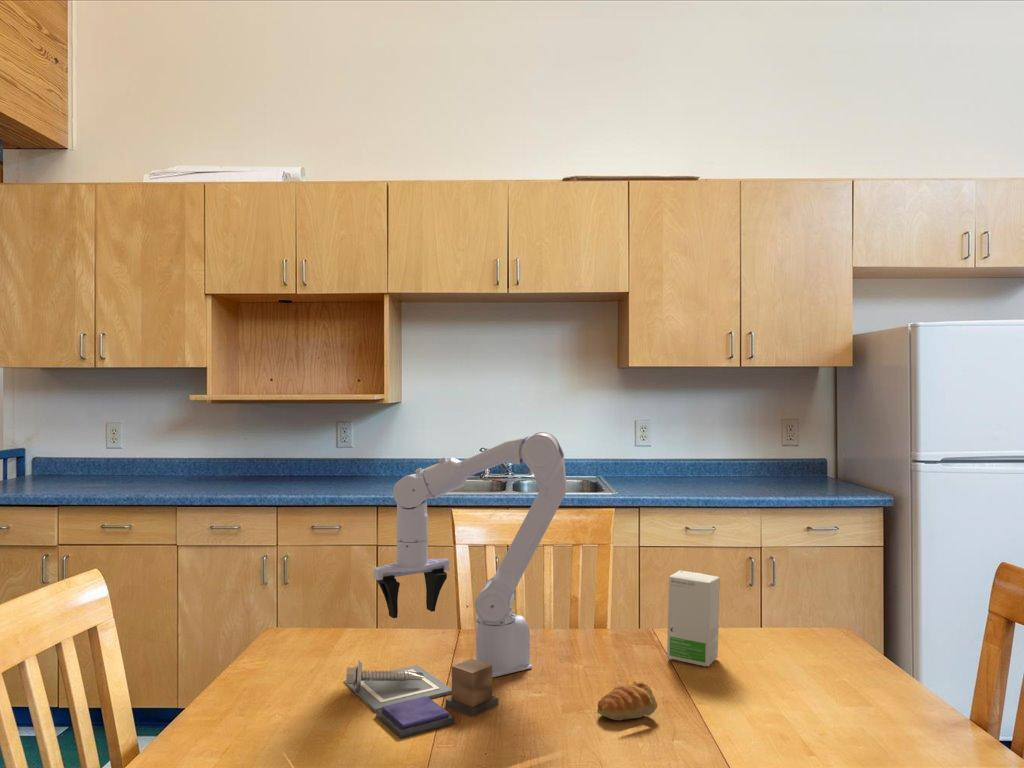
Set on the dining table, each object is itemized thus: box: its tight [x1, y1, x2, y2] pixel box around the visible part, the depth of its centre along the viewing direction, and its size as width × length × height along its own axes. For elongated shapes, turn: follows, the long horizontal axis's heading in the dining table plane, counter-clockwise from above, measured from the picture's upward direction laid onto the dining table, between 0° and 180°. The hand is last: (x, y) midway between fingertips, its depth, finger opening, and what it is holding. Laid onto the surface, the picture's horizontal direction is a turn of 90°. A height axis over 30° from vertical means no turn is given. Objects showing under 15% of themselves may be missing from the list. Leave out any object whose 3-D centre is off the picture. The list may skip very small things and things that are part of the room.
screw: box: [345, 660, 424, 692], centre depth 129 cm, size 13×5×5 cm, turn 101°
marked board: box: [343, 664, 452, 713], centre depth 130 cm, size 14×14×1 cm
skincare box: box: [666, 569, 721, 667], centre depth 145 cm, size 8×7×16 cm
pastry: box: [596, 681, 658, 721], centre depth 120 cm, size 9×7×4 cm
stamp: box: [445, 658, 499, 718], centre depth 123 cm, size 6×6×6 cm
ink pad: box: [375, 696, 456, 739], centre depth 118 cm, size 9×9×2 cm
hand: (412, 613), depth 142 cm, fingers open, 7 cm apart
